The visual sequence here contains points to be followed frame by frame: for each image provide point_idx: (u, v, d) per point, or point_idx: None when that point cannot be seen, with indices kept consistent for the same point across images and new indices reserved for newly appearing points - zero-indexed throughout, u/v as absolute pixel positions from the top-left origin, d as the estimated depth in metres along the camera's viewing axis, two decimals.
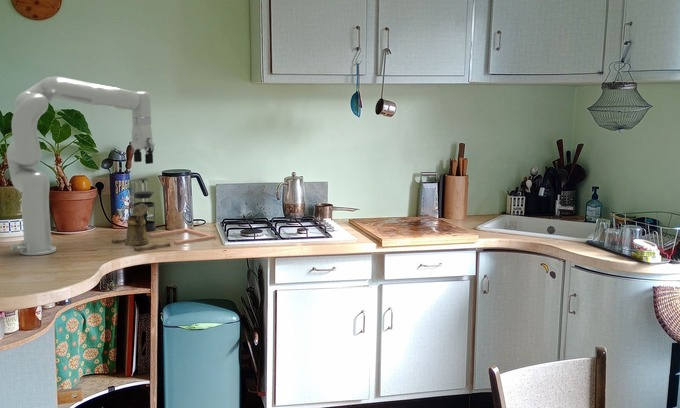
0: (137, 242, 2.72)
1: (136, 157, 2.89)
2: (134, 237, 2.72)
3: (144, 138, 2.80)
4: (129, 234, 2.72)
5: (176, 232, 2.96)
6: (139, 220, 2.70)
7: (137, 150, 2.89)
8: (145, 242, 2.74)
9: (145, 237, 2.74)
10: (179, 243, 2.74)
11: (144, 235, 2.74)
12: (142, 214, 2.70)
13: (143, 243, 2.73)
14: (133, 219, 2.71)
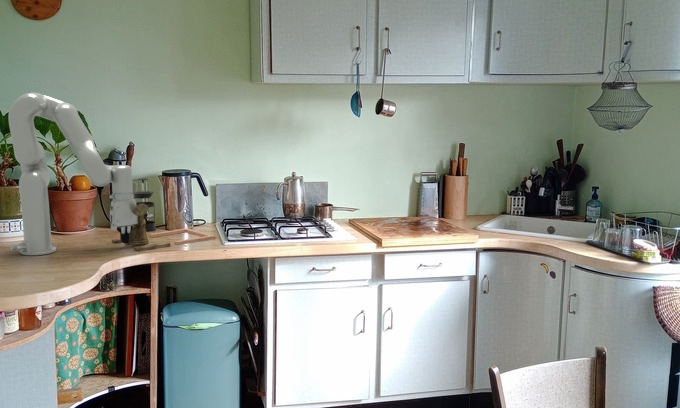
0: (137, 242, 2.72)
1: None
2: (134, 237, 2.72)
3: None
4: (129, 234, 2.72)
5: (176, 232, 2.96)
6: (139, 220, 2.70)
7: None
8: (145, 242, 2.74)
9: (145, 237, 2.74)
10: (179, 243, 2.74)
11: (144, 235, 2.74)
12: (142, 214, 2.70)
13: (143, 243, 2.73)
14: None
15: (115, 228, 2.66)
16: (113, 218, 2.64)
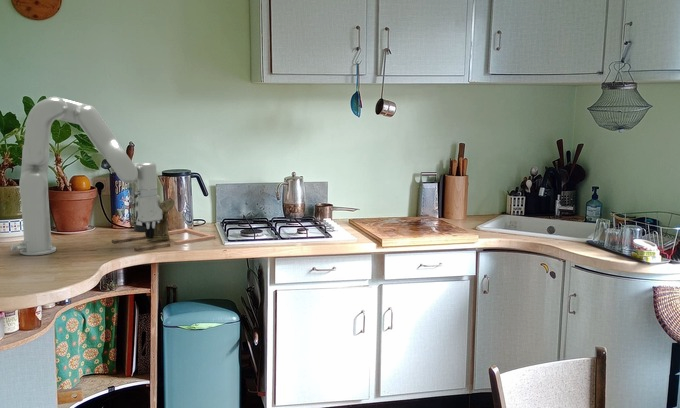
0: (160, 237, 2.78)
1: None
2: (158, 232, 2.78)
3: None
4: None
5: (176, 232, 2.96)
6: (164, 215, 2.77)
7: None
8: (167, 237, 2.81)
9: (167, 233, 2.82)
10: (179, 243, 2.74)
11: (166, 231, 2.81)
12: (168, 210, 2.78)
13: (166, 238, 2.80)
14: None
15: (140, 223, 2.73)
16: (138, 214, 2.70)
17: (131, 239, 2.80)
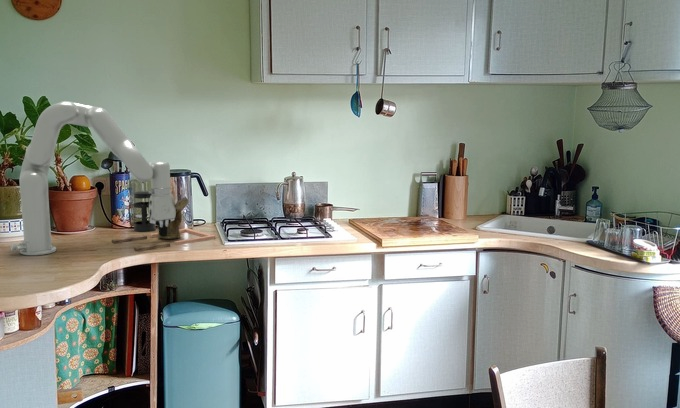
0: (173, 235, 2.83)
1: None
2: (171, 230, 2.83)
3: None
4: None
5: None
6: (178, 214, 2.82)
7: None
8: (179, 235, 2.86)
9: None
10: (179, 243, 2.74)
11: (178, 229, 2.86)
12: (181, 208, 2.83)
13: (178, 236, 2.85)
14: None
15: (154, 222, 2.77)
16: (152, 212, 2.74)
17: (131, 239, 2.80)
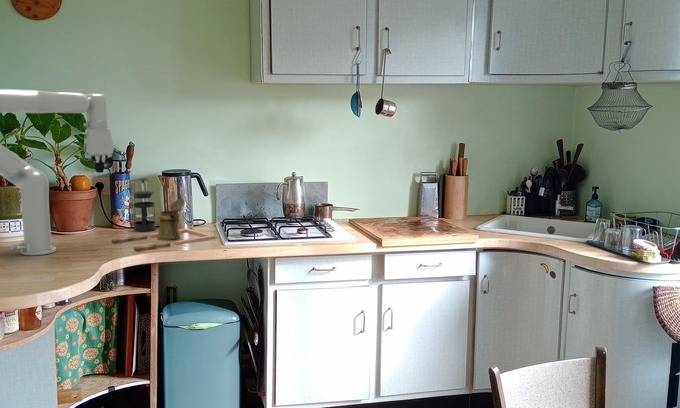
0: (173, 236, 2.83)
1: None
2: (169, 231, 2.83)
3: None
4: (164, 229, 2.83)
5: None
6: (175, 215, 2.82)
7: None
8: (179, 235, 2.86)
9: (178, 231, 2.86)
10: (179, 243, 2.74)
11: (177, 229, 2.86)
12: (178, 209, 2.82)
13: (177, 237, 2.85)
14: (168, 214, 2.82)
15: (89, 156, 2.66)
16: (87, 146, 2.63)
17: (131, 239, 2.80)
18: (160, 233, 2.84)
